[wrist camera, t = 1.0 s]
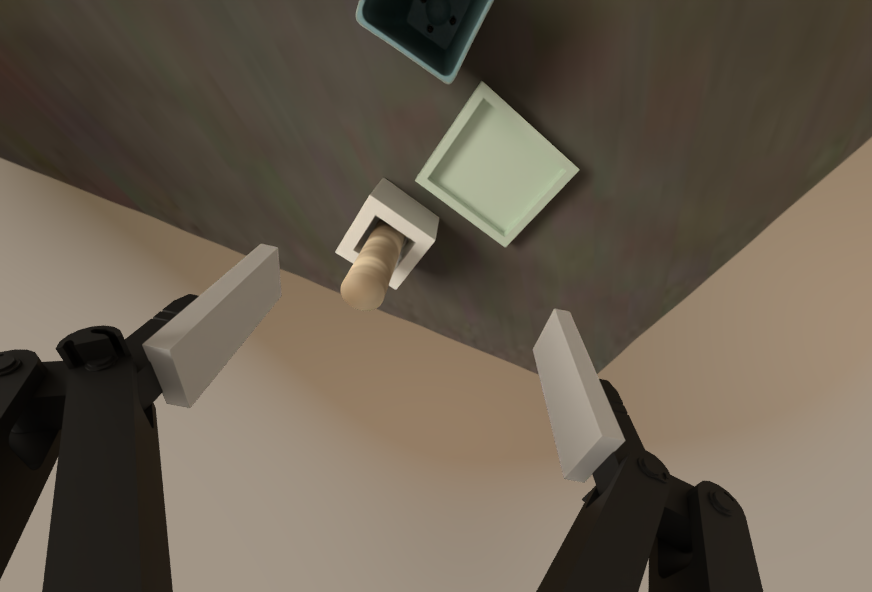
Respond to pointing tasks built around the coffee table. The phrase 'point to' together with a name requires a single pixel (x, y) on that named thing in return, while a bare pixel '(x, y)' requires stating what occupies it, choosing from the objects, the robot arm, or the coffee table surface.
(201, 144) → the coffee table surface
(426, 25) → the flower pot
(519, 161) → the tray
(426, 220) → the hollow block
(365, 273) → the dowel
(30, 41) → the coffee table surface
